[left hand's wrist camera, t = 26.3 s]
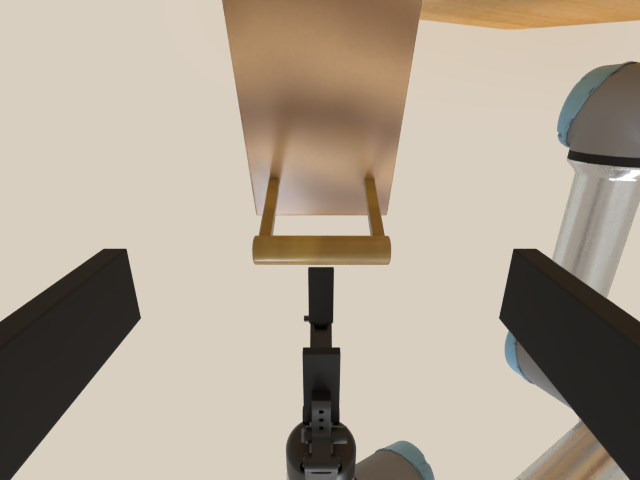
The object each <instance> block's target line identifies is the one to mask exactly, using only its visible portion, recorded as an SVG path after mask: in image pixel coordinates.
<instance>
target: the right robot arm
mask: <svg viewBox="0 0 640 480" xmlns="http://www.w3.org/2000/svg"><path fill="white" fill-rule="evenodd" d="M557 131H558V132H559V134H558V138H559V141H560V142H561V143H562V144H563V145H565V146H566V147H570V149H569V153H568V157H567V161H568V162H569V164H570V165H571V166H572V167H573V168H574V171H575V175H574V179H573V183H572V187H571V190H570V194H569V198H568V202H567V205H566V209H565V213H564V217H563V220H562V224H561V228H560V232H559V235H558V239H557V243H556V247H555V250H554V254H553V258H552V260H553V261H554V262H556V263H557V264H558V265H560V266H561V267H563V268H564V269H566V270H567V271H568V272H570V273H571V274H573V275H574V276H576V277H577V278H578V279H580V280H581V281H583V282H584V283H585V284H587V285H588V286H590V287H591V288H593V289H594V290H595V291H597V292H598V293H600V294H601V295H602V296H604V297H605V298H607V296H608V293H609V290H610V287H611V284H612V281H613V278H614V276H615V272H616V270H617V267H618V264H619V261H620V258H621V255H622V252H623V249H624V246H625V243H626V240H627V237H628V234H629V231H630V228H631V225H632V222H633V219H634V216H635V213H636V210H637V208H638V205H639V201H640V63H638V62H633V61H631V62H626V63H623V64H616V65H607V66H601V67H598V68H596V69H594V70H592V71H590V72H589V73H587V74H586V75H585V76H584V77H583V78H582V79H581V80H580V81H579V82H578V83H577V84H576V85H575V86H574V88H573V89H572V91H571V92H570V94H569V95H568V97H567V99H566V101H565V103H564V105H563V107H562V110H561V113H560V116H559V120H558V126H557ZM308 281H309V282H308V283H309V316H304V321H309V323H310V324H311V330H310V348H303V393H304V406H303V422H301V423H300V424H299V425H297V426H296V427H295V428H294V429H293V431H292V432H291V434H290V435H289V438H288V440H287V444H286V460H287V480H434V475H433V472H432V469H431V467H430V465H429V464H428V463H427V462H426V460H425V458H424V455H423V454H422V452H421V451H420V450H419V449H418V448H417V447H416V446H414V445H413V444H411V443H410V442H407V441H398V442H396V443H394V444H392V445H389V446H387V447H385V448H382V449H379V450H377V451H376V452H375V453H374V454H372V455H371V456H369V457H367V458H366V459H364V460H362V461H361V462H359V463H357V464H356V465H355V461H356V444H355V440H354V438H353V435H352V434H351V432H350V431H349V429H348V428H347V427H346V426H345V425H343V424H342V423H340V422H339V391H340V348H332V326H331V324H332V323H333V288H334V268H333V267H309V268H308ZM505 357H506V360H507V363H508V364H509V366H510V367H511V368H512V369H513V370H514V371H515V372H517V373H518V374H520V375H521V376H522V377H523V378H524V379H525V380H526V381H528V382H530V383H532V384H535V385H537V386H538V387H540V388H541V389H543V390H544V391H546V392H547V393H549V394H550V395H552V396H553V397H555V398H556V399H558V400H559V401H561V402H562V403H564V404H565V405H567V406H568V407H570V405H569V404H568V403H567V402H566V400H565V399H564V398H563V397H562V395H561V394H560V393H559V392H558V390H557V389H556V388H555V387H554V386H553V384H552V383H551V382H550V381H549V379H548V378H547V377H546V376H545V374H544V373H543V372H542V371H541V369H540V368H539V367H538V366H537V364H536V363H535V362H534V361H533V360H532V358H531V357H530V356H529V355H528V353H527V352H526V351H525V350H524V348H523V347H522V346H521V345H520V343H519V342H518V341H517V340H516V338H515V337H514V336H513V335H512V334H511V332H510V331H509V332H508V334H507V338H506V342H505ZM570 408H571V407H570ZM571 409H572V408H571ZM628 479H629V478H628V477H627V476H626V475H625V473H624V472H623V471H622V470H621V468H620V467H619V466H618V465H617V464H616V462H615V461H614V460H613V459H612V457H611V456H610V455H609V454H608V452H607V451H606V450H605V449H604V447H603V446H602V445H601V444H600V442H599V441H598V440H597V439H596V438H595V436H594V435H593V434H592V433H591V431H590V430H589V429H588V428H587V426H586V425H585V424H584V423H583V421H582V420H581V419H580V418H579V423H577V424H576V425H575V426H574V427H573V428H572V429H571V430H570V431H568V432H567V433H566V434H565V435H564V436H563V437H562V438H561V439H559V440H558V441H557V442H556V443H555V444H554V445H553V446H552V447H550V448H549V449H548V450H547V451H546V452H545V453H544V454H543V455H541V456H540V457H539V458H538V459H537V460H536V461H535V462H534V463H532V464H531V465H530V466H529V467H528V468H527V469H526V470H525V471H523V472H522V473H521V474H520V475H519V476H518V477H517V478H516V479H514V480H628Z"/></svg>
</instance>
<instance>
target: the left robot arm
mask: <svg viewBox="0 0 640 480" xmlns="http://www.w3.org/2000/svg"><path fill="white" fill-rule="evenodd" d="M140 319H141V317H140V312H139V307H138V302H137V297H136V293H135V288H134V283H133V278H132V273H131V269H130V264H129V259H128V254H127V250H126V249H103V250H101V251H100V252H99V253H97V254H96V255H94V256H93V257H91V258H90V259H89V260H87V261H86V262H84V263H83V264H82V265H80V266H79V267H77V268H76V269H75V270H73V271H72V272H70V273H69V274H67V275H66V276H65V277H63V278H62V279H60V280H59V281H57V282H56V283H55V284H53V285H52V286H50V287H49V288H47V289H46V290H45V291H43V292H42V293H40V294H39V295H38V296H36V297H35V298H33V299H32V300H30V301H29V302H28V303H26V304H25V305H23V306H22V307H21V308H19V309H18V310H16V311H15V312H13V313H12V314H11V315H9V316H8V317H6V318H5V319H4V320H2V321H1V322H0V480H11V478H12V477H13V476H14V475H15V473H16V472H17V471H18V470H19V468H20V467H21V466H22V465H23V464H24V462H25V461H26V460H27V459H28V457H29V456H30V455H31V454H32V452H33V451H34V450H35V449H36V447H37V446H38V445H39V444H40V442H41V441H42V440H43V439H44V438H45V436H46V435H47V434H48V433H49V431H50V430H51V429H52V428H53V426H54V425H55V424H56V423H57V421H58V420H59V419H60V418H61V416H62V415H63V414H64V413H65V411H66V410H67V409H68V408H69V407H70V405H71V404H72V403H73V402H74V400H75V399H76V398H77V397H78V395H79V394H80V393H81V392H82V390H83V389H84V388H85V387H86V386H87V384H88V383H89V382H90V381H91V379H92V378H93V377H94V376H95V374H96V373H97V372H98V371H99V369H100V368H101V367H102V366H103V364H104V363H105V362H106V361H107V360H108V358H109V357H110V356H111V355H112V353H113V352H114V351H115V350H116V348H117V347H118V346H119V345H120V343H121V342H122V341H123V340H124V338H125V337H126V336H127V335H128V334H129V332H130V331H131V330H132V329H133V327H134V326H135V325H136V324H137V322H138V321H139V320H140ZM499 319H500V320H501V321H502V322H503V324H504V325H505V326H506V327H507V329H508V330H509V331H510V332H511V334H512V335H513V336H514V337H515V338H516V340H517V341H518V342H519V343H520V345H521V346H522V347H523V348H524V350H525V351H526V352H527V353H528V355H529V356H530V357H531V358H532V360H533V361H534V362H535V363H536V364H537V366H538V367H539V368H540V369H541V371H542V372H543V373H544V374H545V376H546V377H547V378H548V379H549V381H550V382H551V383H552V384H553V386H554V387H555V388H556V389H557V390H558V392H559V393H560V394H561V395H562V397H563V398H564V399H565V400H566V402H567V403H568V404H569V405H570V407H571V408H572V409H573V410H574V412H575V413H576V414H577V415H578V416H579V418H580V419H581V420H582V421H583V423H584V424H585V425H586V426H587V428H588V429H589V430H590V431H591V433H592V434H593V435H594V436H595V438H596V439H597V440H598V441H599V442H600V444H601V445H602V446H603V447H604V449H605V450H606V451H607V452H608V454H609V455H610V456H611V457H612V459H613V460H614V461H615V462H616V464H617V465H618V466H619V467H620V468H621V470H622V471H623V472H624V473H625V475H626V476H627V477H628V478H629V480H640V322H639V321H638V320H637V319H635V318H634V317H632V316H631V315H629V314H628V313H626V312H625V311H624V310H622V309H621V308H619V307H618V306H617V305H615V304H614V303H612V302H611V301H610V300H608V299H607V298H605V297H604V296H602V295H601V294H600V293H598V292H597V291H595V290H594V289H593V288H591V287H590V286H588V285H587V284H585V283H584V282H583V281H581V280H580V279H578V278H577V277H576V276H574V275H573V274H571V273H570V272H568V271H567V270H566V269H564V268H563V267H561V266H560V265H558V264H557V263H556V262H554V261H553V260H551V259H550V258H549V257H547V256H546V255H544V254H543V253H541V252H540V251H539V250H537V249H514V250H513V254H512V259H511V264H510V269H509V273H508V278H507V283H506V288H505V293H504V297H503V302H502V307H501V312H500V317H499Z"/></svg>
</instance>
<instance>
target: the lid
mask: <svg viewBox="0 0 640 480" xmlns="http://www.w3.org/2000/svg"><path fill="white" fill-rule="evenodd" d="M222 2H223V9H224V15H225V21H226V27H227V34H228V40H229V46H230V52H231V59H232V65H233V71H234V77H235V84H236V90H237V96H238V102H239V108H240V115H241V121H242V127H243V133H244V140H245V146H246V152H247V158H248V164H249V171H250V177H251V183H252V190H253V196H254V202H255V208H256V214H257V215H262V221H261V227H260V232H259V236H255V237H254V240H253V247H252V254H253V261H254V264H256V265H388V264H389V263H390V259H391V243H390V238H389V236H385V235H384V229H383V224H382V218H381V215H387V210H388V204H389V198H390V192H391V186H392V180H393V174H394V168H395V162H396V155H397V149H398V143H399V137H400V131H401V125H402V119H403V113H404V107H405V101H406V95H407V89H408V83H409V76H410V71H411V65H412V58H413V52H414V46H415V40H416V34H417V28H418V22H419V16H420V10H421V4H422V0H222ZM275 215H368V220H369V228H370V235H371V236H273V230H274V222H275Z"/></svg>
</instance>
